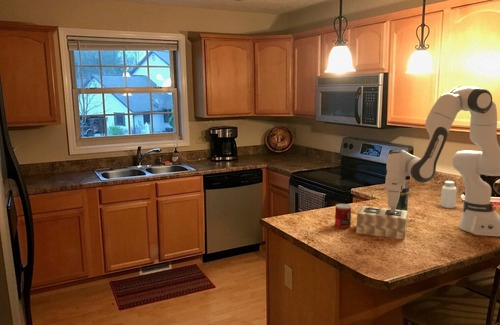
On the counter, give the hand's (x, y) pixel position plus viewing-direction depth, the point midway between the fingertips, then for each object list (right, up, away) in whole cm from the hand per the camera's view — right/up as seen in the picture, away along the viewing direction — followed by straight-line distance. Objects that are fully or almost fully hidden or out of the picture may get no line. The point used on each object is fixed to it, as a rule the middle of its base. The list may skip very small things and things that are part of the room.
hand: (393, 211), depth 198 cm
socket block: (-4, -10, +4) cm, 12 cm away
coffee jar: (+12, -6, +26) cm, 29 cm away
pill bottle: (+49, -3, +47) cm, 67 cm away
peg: (0, -10, +2) cm, 10 cm away
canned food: (-22, -9, +12) cm, 26 cm away
